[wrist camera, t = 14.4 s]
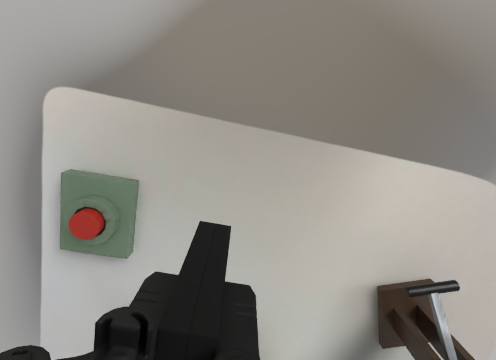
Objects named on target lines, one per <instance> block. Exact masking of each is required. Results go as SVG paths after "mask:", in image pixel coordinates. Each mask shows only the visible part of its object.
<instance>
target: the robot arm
mask: <svg viewBox="0 0 496 360" xmlns="http://www.w3.org/2000/svg"><path fill="white" fill-rule="evenodd" d="M230 232H231V226H227V225H221V224H215V223H209V222H203V221H200V222H199V225H198V228H197V230H196V233H195V235H194V238H193V240H192V243H191V245H190V248H189V250H188V253H187V255H186V258H185V260H184V263H183V266H182V268H181V271H180V273H179V275H174V274H168V273H162V272H154V273H153V274H152V275H150V276H149V277H147V278H146V279H145V280H144V282H143V284H142V285H141V287H140V289H139V291H138V292H137V294H136V296H135V297H134V300H133V301H132V303H131V304H130V306H129V307H121V308H117V309H113V310H111V311H109V312H108V313H106V314H104V315H103V316H102V317H101V318H100V319H99V320H98V321H97V322H96V323H95V340H94V351H92V352H90V353H87V354H85V355H81V356H77V357H71V358H64V359H57V360H260V357H259V348H258V330H257V318H256V316H257V312H256V295H255V294H254V292H253V290H252V289H251V287H250V285H243V284H237V283H231V282H225V275H226V266H227V257H228V249H229V240H230ZM0 360H51V358H50V354H49V352H48V351H46V350H45V349H44V348H42V347H38V346H32V345H29V346H21V347H16V348H13V349H11V350H7V351H5V352H2V353H1V354H0Z"/></svg>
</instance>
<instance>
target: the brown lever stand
mask: <svg viewBox="0 0 496 360" xmlns="http://www.w3.org/2000/svg"><path fill="white" fill-rule="evenodd" d="M429 283H434V282H433V281H432V280H431V279H426V280H419V281H411V282H404V283H397V284H390V285H383V286H378V308H379V341H380V345H381V347H382V348H383V349H385V348H392V347H399V346H406V348H407V349H408V350H409V352H410V353H411V355H412V356H413V358H414V359H415V360H441V359H440V358H439V357H438V355H437V354H436V353H435V352H434V350H433V349H432V348H431V347H430V345H429V344H428V342H430V343H431V344H432V346H433V347H434V348H435V349H436V351H437V352H438V353H439V354H440V355H441V357H442V358H443V359H444V360H445V356H444V353H443V349H442V345H441V342H440V338H439V335H438V331H437V327H436V324H435V320H434V316H433V313H432V309H431V306H430V302H429V298H428V295H424V296H417V297H410V298H409V297H407V296H406V294H405V291H404V288H405V287H408V286H415V285H422V284H429ZM450 335H451V334H450ZM451 339H452V342H453V346H454V349H455V353H456V356H457V360H475V359H474V358H473V357H472V356H471V355H470V354H469V353H468V352H467V351H466V350H465V349H464V348H463V346H462V345H461V344H460V343H459V342H458V341H457V340H456V339H455V338H454V337H453V336H452V335H451Z"/></svg>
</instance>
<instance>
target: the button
mask: <svg viewBox="0 0 496 360" xmlns="http://www.w3.org/2000/svg"><path fill="white" fill-rule="evenodd" d="M104 225H105V221H104V218H103V216H102V214H101V213H100V212H98V211H97V210H95V209H92V208H85V209H82V210H81V211H79V212H77V213H76V214H74V215H73V216H72V217H71V218H70V220H69V229H70V231H71V233H72V234H73V235H74V236H75V237H77V238H79V239H82V240H89V239H92V238H94V237H95V236H96V235H97V234H99V233H100V232H101V231H102V230H103V228H104Z"/></svg>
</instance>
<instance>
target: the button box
mask: <svg viewBox="0 0 496 360" xmlns="http://www.w3.org/2000/svg"><path fill="white" fill-rule="evenodd" d="M138 184H139V181H138V180H132V179H126V178H120V177H114V176H108V175H102V174H96V173H90V172H84V171H77V170H71V169H70V170H68V171H65V172H62V173H61V224H60V249H63V250H70V251H77V252H84V253H91V254H97V255H104V256H111V257H118V258H125V259H127V258H128V257H129V256H130V254H131V253H132V252H133V241H134V230H135V218H136V207H137V195H138ZM85 208H92V209H95V210H97V211H98V212H100V213H101V214H102V216H103V218H104V221H105V225H104V228H103V230H102V231H101V232H100V233H99V234H97V235H96V236H95V237H94V238H92V239H89V240H82V239H79V238H77V237H75V236H74V235H73V234H72V233H71V231H70V229H69V220H70V218H71V217H72V216H73V215H74V214H76V213H77V212H79V211H81V210H82V209H85Z"/></svg>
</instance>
